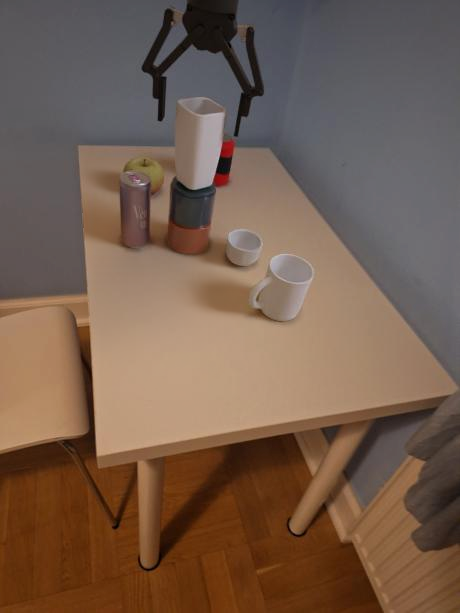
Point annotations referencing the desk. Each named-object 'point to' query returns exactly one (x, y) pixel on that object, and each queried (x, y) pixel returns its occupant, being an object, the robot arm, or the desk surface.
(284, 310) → the mug
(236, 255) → the teacup
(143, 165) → the apple
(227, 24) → the robot arm
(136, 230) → the beverage can
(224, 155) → the soda can
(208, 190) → the tumbler stack
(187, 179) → the cup
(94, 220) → the desk surface
